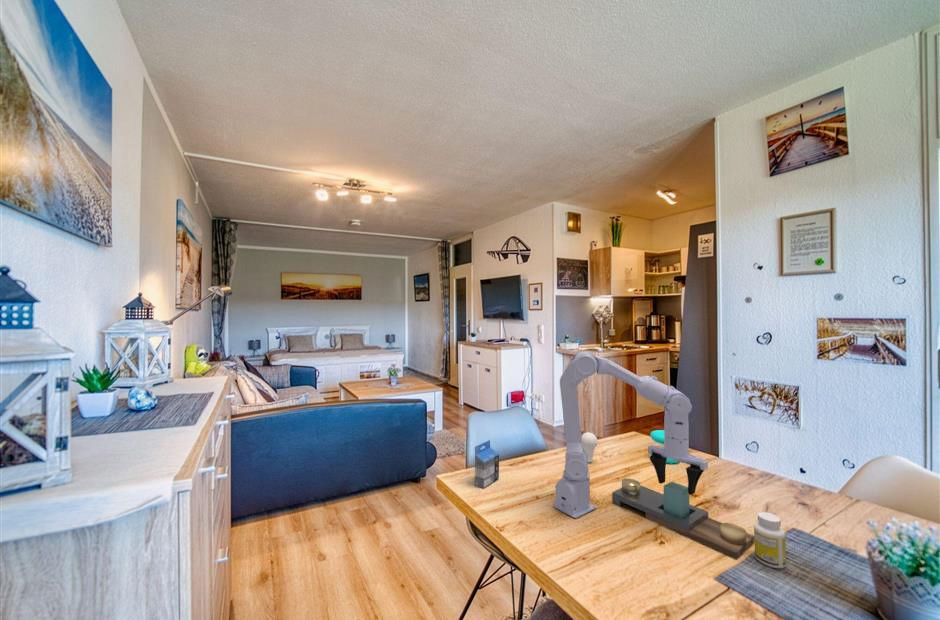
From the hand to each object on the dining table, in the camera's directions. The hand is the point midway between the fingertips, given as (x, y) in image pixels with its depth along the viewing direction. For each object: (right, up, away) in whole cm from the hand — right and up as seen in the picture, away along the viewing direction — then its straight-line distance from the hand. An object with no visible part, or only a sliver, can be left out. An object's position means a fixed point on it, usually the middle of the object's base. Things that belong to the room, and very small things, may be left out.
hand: (676, 487), depth 99 cm
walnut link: (+3, -9, -4) cm, 10 cm away
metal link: (-3, -9, +4) cm, 10 cm away
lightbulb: (-11, -9, +39) cm, 41 cm away
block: (0, -9, 0) cm, 9 cm away
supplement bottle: (+12, -9, -16) cm, 22 cm away
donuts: (+19, -10, +42) cm, 47 cm away
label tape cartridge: (-49, -9, +22) cm, 55 cm away
